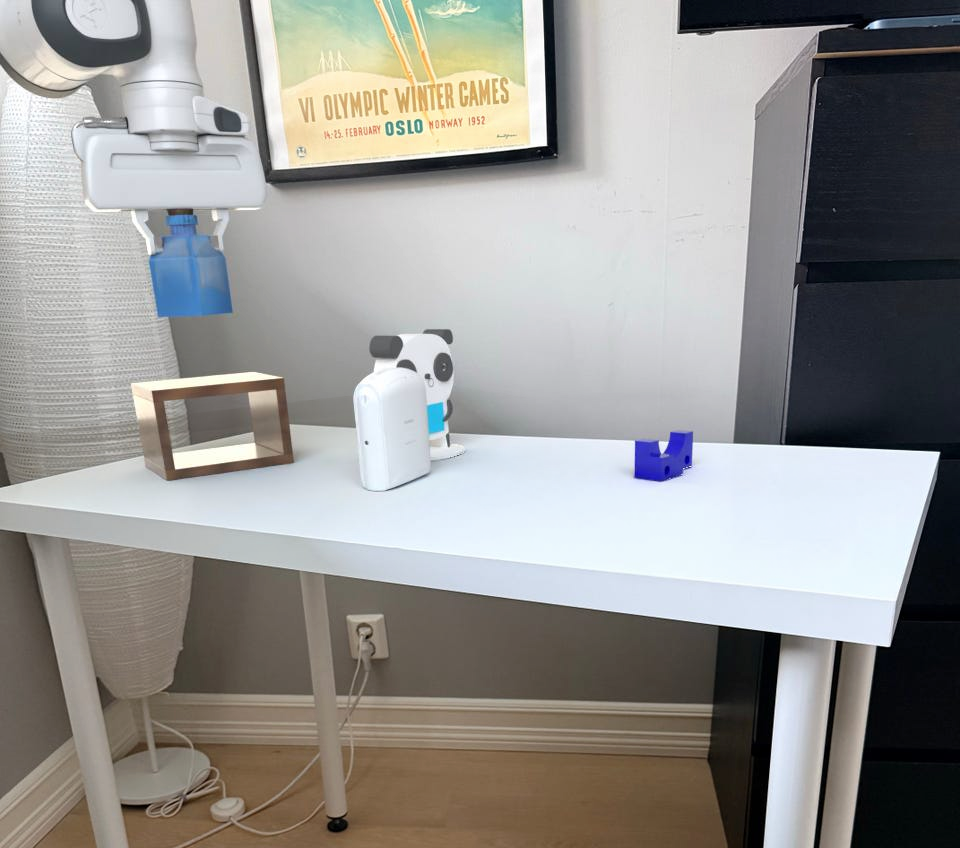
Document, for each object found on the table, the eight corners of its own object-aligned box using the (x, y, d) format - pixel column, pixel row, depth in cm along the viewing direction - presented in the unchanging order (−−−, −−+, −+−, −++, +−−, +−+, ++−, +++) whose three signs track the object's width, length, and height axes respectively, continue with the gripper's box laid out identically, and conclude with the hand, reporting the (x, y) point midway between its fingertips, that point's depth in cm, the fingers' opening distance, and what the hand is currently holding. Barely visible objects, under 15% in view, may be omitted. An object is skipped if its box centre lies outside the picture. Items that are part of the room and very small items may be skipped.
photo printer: (389, 492, 99) (379, 373, 95) (356, 490, 101) (344, 373, 96) (436, 473, 108) (430, 363, 103) (405, 471, 109) (397, 363, 105)
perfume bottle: (190, 314, 114) (174, 207, 110) (232, 312, 112) (218, 203, 108) (157, 317, 109) (139, 205, 105) (201, 315, 107) (185, 201, 103)
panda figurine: (421, 465, 113) (412, 336, 107) (356, 457, 119) (344, 335, 114) (483, 449, 121) (477, 328, 116) (419, 442, 128) (411, 328, 122)
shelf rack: (166, 480, 111) (151, 390, 107) (145, 466, 121) (130, 383, 117) (294, 462, 118) (284, 377, 114) (264, 450, 128) (254, 371, 124)
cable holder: (661, 481, 98) (662, 443, 97) (634, 477, 101) (635, 440, 99) (703, 468, 103) (704, 432, 102) (676, 465, 106) (677, 429, 104)
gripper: (71, 111, 96) (98, 255, 101) (263, 117, 105) (278, 249, 110) (63, 120, 101) (88, 257, 106) (246, 126, 110) (261, 251, 115)
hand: (186, 253), depth 108 cm, fingers closed on perfume bottle, 5 cm apart
